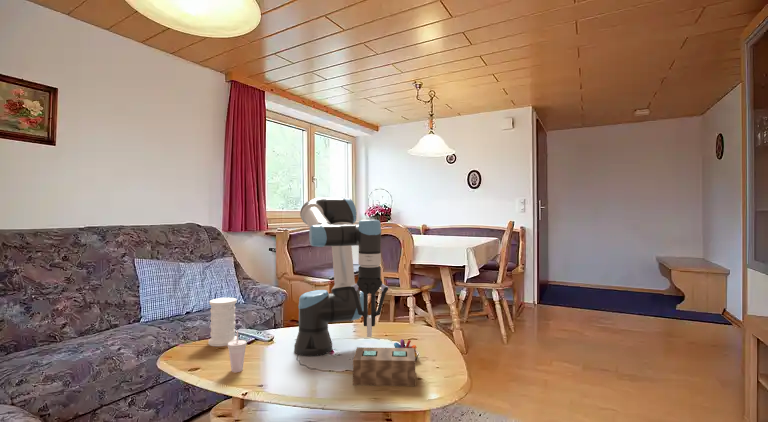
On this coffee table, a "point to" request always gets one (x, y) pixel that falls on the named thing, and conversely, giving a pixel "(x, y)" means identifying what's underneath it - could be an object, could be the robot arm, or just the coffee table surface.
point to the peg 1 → (369, 353)
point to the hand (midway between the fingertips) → (369, 335)
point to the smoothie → (237, 354)
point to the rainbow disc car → (402, 345)
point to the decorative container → (222, 321)
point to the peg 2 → (399, 354)
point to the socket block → (384, 367)
